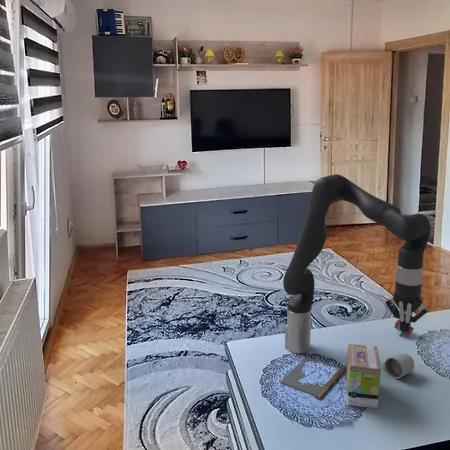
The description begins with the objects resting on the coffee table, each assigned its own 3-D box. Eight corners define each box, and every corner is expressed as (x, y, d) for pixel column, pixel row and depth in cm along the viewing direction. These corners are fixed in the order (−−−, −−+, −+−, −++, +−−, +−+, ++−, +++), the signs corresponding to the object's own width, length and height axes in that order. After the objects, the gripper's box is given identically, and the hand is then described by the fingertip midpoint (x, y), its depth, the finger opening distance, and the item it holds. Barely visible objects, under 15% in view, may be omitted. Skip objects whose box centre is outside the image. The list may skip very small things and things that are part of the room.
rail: (315, 398, 165) (315, 395, 165) (342, 368, 182) (342, 365, 182) (319, 399, 164) (319, 396, 164) (345, 369, 181) (345, 367, 181)
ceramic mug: (415, 374, 177) (416, 355, 175) (401, 382, 172) (402, 363, 170) (390, 362, 185) (391, 344, 183) (376, 370, 181) (377, 351, 179)
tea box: (378, 409, 159) (381, 368, 155) (346, 406, 161) (348, 366, 157) (374, 382, 173) (377, 345, 169) (345, 380, 175) (347, 342, 171)
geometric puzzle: (418, 329, 205) (407, 313, 205) (415, 336, 199) (404, 319, 200) (403, 335, 209) (393, 319, 209) (400, 342, 203) (389, 326, 204)
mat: (279, 382, 174) (279, 381, 174) (306, 357, 189) (306, 356, 189) (315, 396, 166) (315, 395, 166) (340, 369, 181) (340, 368, 181)
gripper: (382, 279, 149) (379, 331, 153) (428, 288, 141) (423, 342, 146) (390, 271, 154) (387, 322, 159) (435, 280, 147) (430, 332, 151)
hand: (404, 331), depth 152 cm, fingers closed
